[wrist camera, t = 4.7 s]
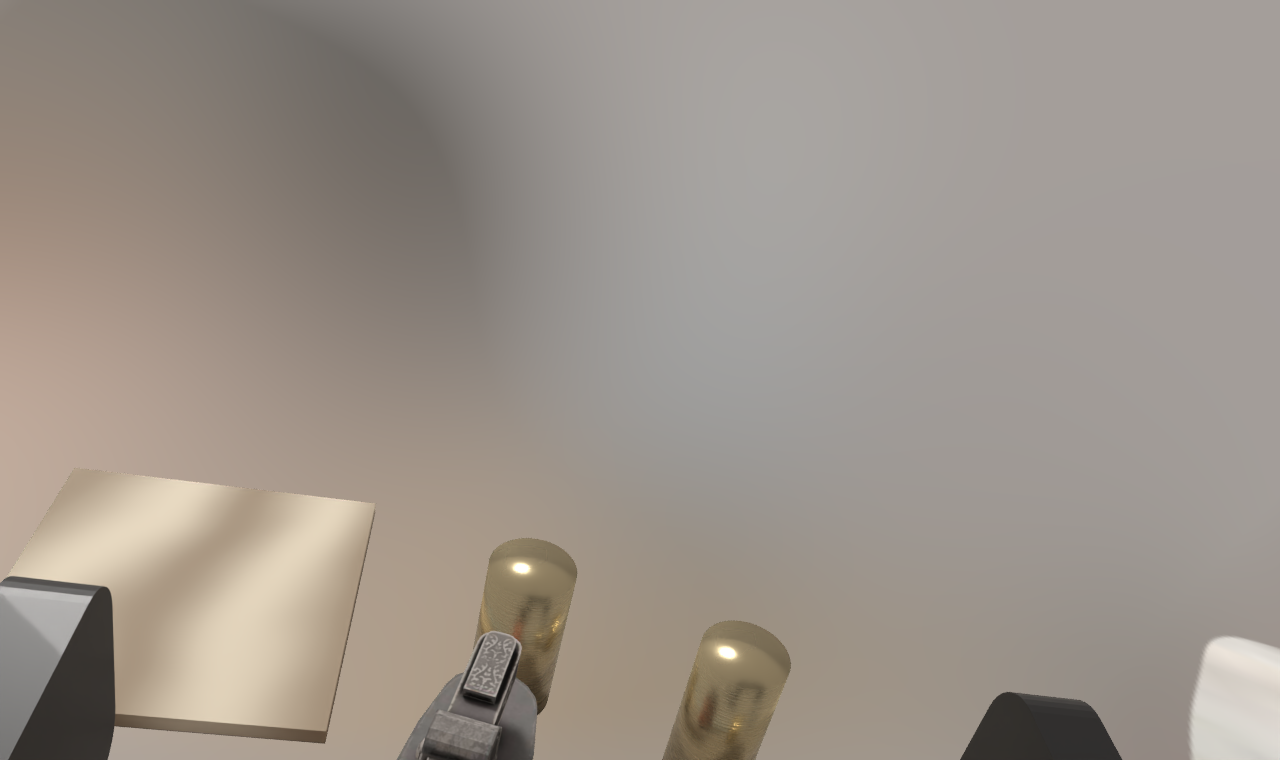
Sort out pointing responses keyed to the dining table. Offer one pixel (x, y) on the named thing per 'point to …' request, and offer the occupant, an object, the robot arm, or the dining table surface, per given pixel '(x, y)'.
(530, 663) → the spacer posts
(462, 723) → the lighter
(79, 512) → the pad
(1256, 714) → the dining table surface
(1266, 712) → the dining table surface
